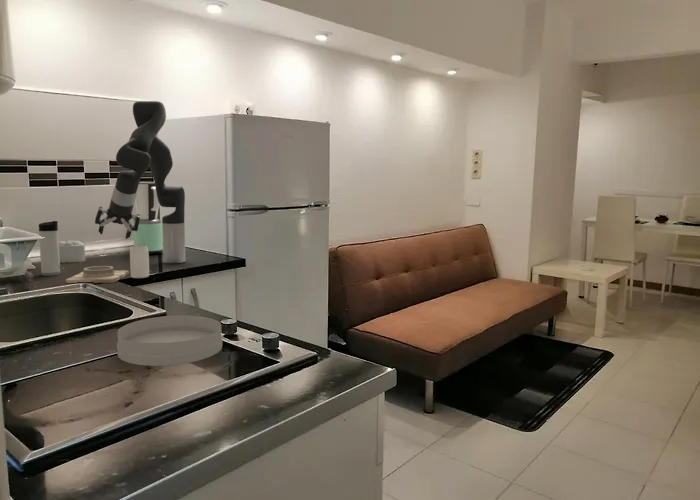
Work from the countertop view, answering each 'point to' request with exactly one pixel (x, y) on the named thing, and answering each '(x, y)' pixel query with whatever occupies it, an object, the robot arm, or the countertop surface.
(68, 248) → the light grey rounded block
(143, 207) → the juicer
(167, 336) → the dish
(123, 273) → the socket plate
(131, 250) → the can
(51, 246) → the travel mug
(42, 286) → the countertop surface
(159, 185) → the robot arm
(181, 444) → the countertop surface
